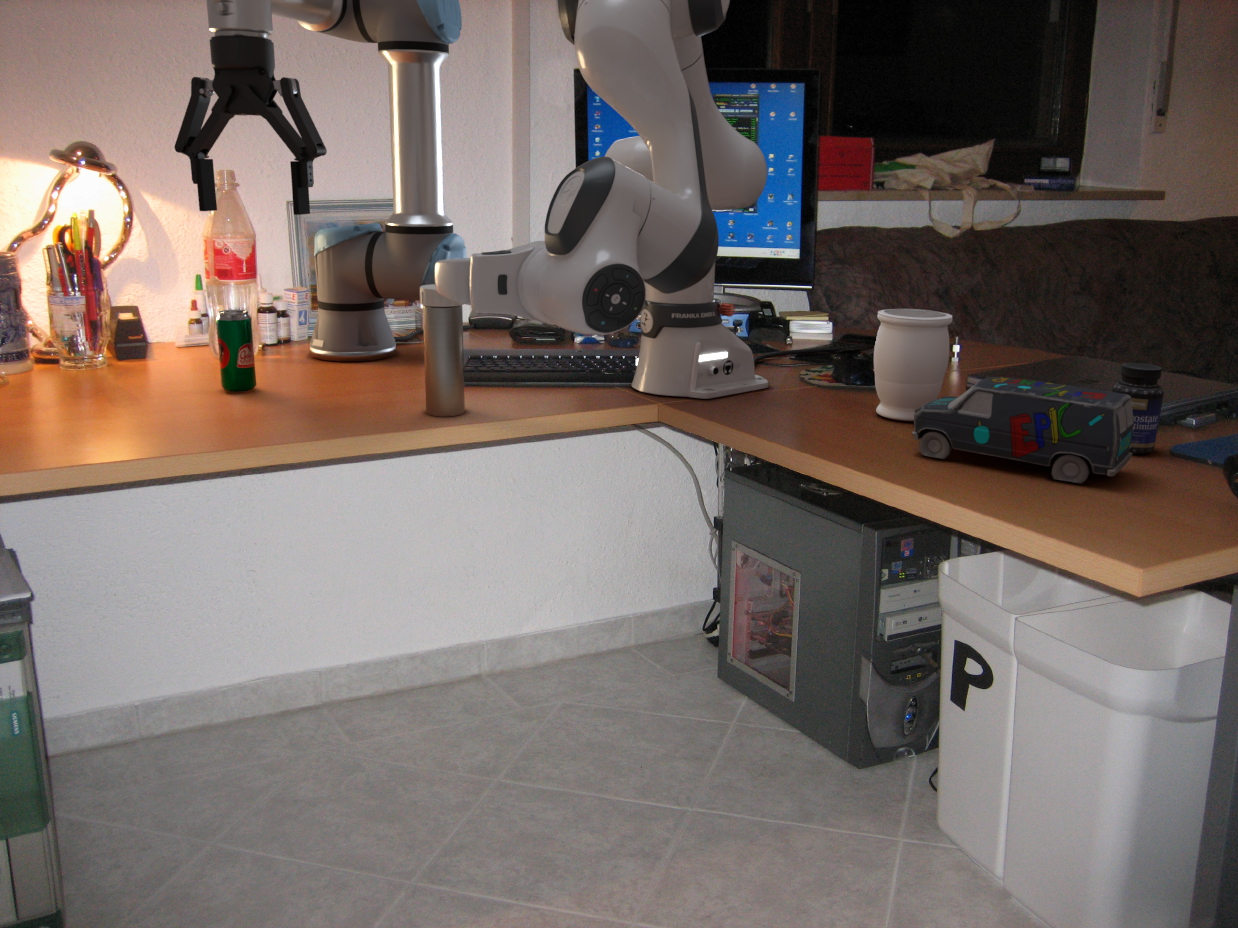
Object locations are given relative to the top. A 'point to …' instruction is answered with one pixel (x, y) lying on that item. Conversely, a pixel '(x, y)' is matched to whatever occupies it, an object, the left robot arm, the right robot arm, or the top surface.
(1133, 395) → the pill bottle
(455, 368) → the metal thermos bottle
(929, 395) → the jar
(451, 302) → the lid
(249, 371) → the soda can
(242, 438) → the top surface
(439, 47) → the left robot arm
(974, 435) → the toy van
